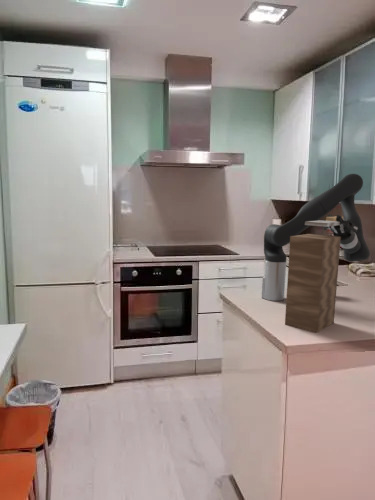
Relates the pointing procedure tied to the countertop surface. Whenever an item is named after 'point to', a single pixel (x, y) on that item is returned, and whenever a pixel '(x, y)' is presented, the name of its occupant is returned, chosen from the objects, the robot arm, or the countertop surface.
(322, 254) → the plinth
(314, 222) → the rectangular straight-edged part
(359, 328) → the countertop surface
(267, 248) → the robot arm
